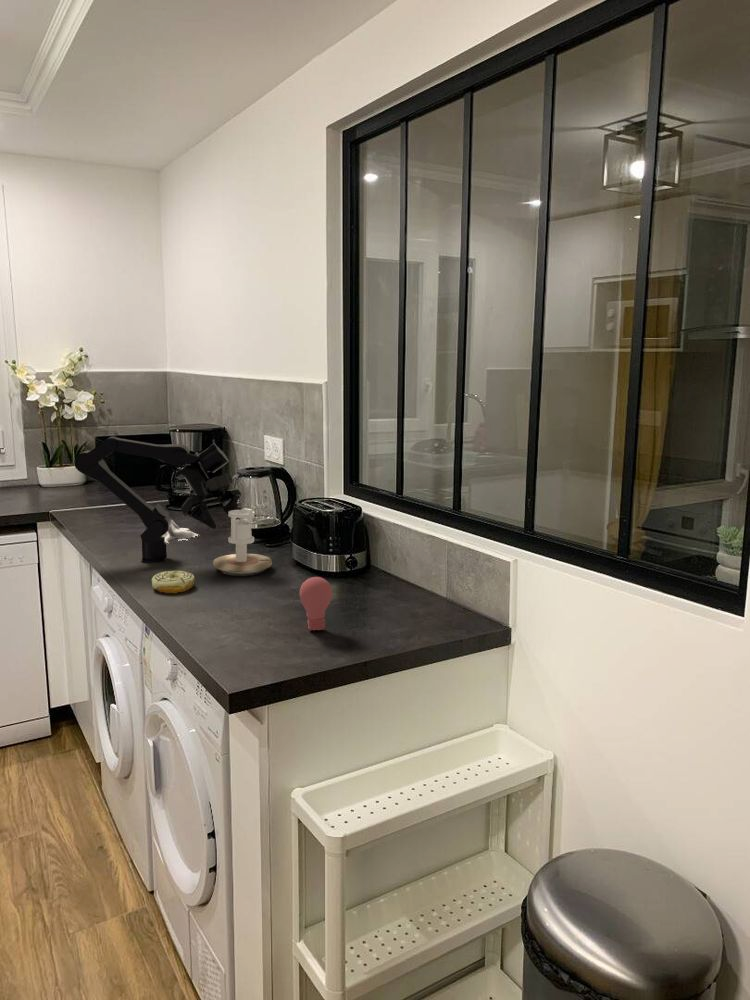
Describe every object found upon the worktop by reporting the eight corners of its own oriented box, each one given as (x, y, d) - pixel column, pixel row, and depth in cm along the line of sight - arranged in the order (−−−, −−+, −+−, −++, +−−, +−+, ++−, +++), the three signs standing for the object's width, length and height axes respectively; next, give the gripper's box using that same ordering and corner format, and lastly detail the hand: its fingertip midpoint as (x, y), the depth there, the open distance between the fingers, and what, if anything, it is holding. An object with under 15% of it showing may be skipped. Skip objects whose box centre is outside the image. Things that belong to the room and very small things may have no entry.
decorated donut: (147, 595, 186) (147, 580, 185) (157, 582, 196) (156, 568, 196) (190, 595, 186) (189, 580, 186) (197, 582, 197) (197, 568, 196)
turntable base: (221, 576, 202) (220, 571, 202) (220, 564, 214) (220, 559, 213) (265, 575, 205) (265, 569, 204) (263, 563, 216) (263, 558, 216)
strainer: (242, 565, 204) (242, 511, 201) (223, 561, 207) (223, 508, 205) (259, 560, 210) (259, 507, 207) (239, 556, 213) (240, 504, 211)
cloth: (145, 547, 233) (144, 528, 232) (133, 535, 249) (133, 516, 248) (215, 541, 243) (214, 523, 242) (199, 529, 260) (199, 512, 258)
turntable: (213, 573, 200) (213, 569, 199) (213, 557, 215) (213, 554, 215) (273, 571, 203) (273, 567, 203) (269, 556, 218) (269, 552, 218)
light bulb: (299, 624, 167) (299, 572, 165) (331, 624, 168) (332, 573, 166) (298, 636, 160) (299, 582, 158) (332, 636, 161) (333, 582, 159)
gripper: (188, 467, 202) (217, 513, 198) (236, 461, 217) (265, 503, 213) (168, 492, 208) (197, 537, 204) (217, 484, 223) (244, 526, 219)
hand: (227, 525), depth 210 cm, fingers open, 9 cm apart
